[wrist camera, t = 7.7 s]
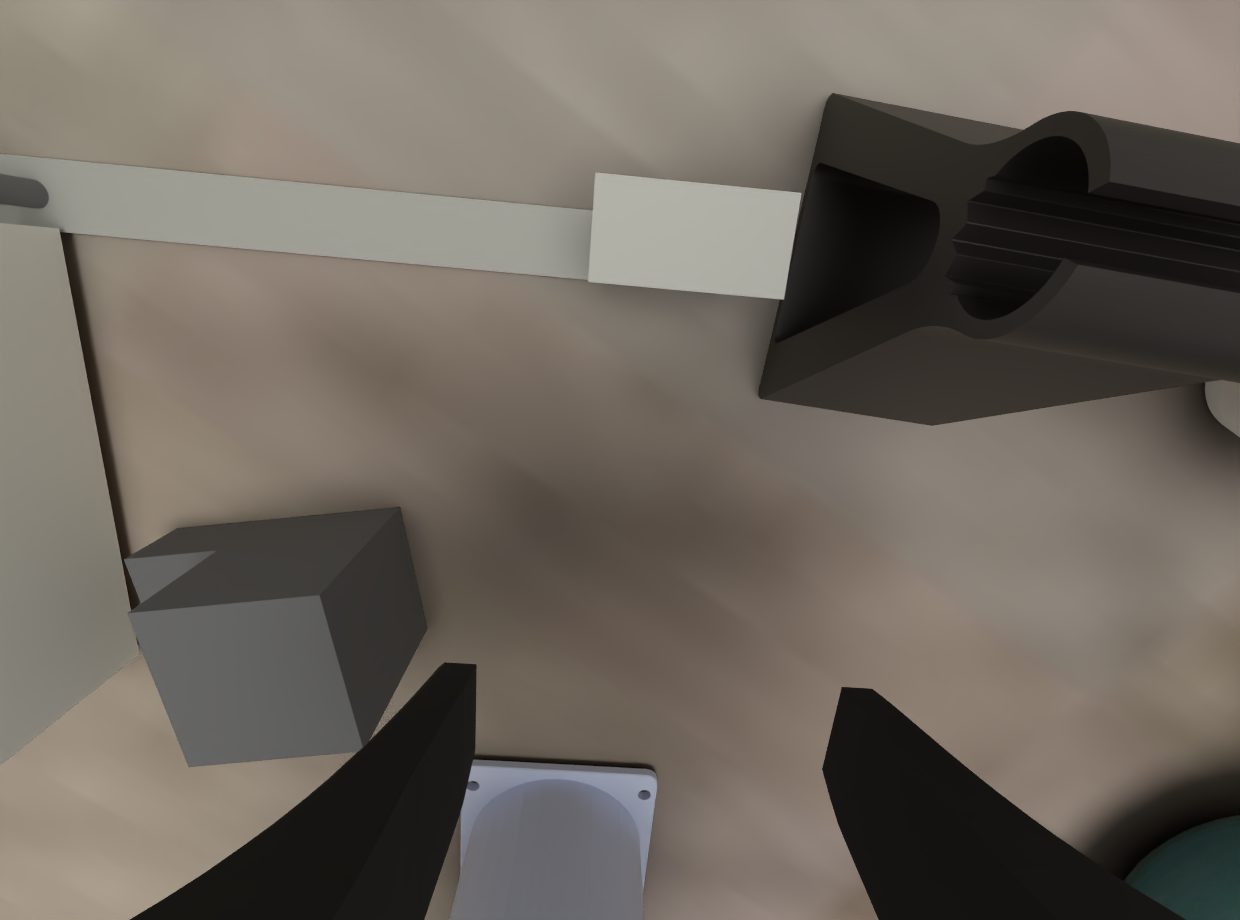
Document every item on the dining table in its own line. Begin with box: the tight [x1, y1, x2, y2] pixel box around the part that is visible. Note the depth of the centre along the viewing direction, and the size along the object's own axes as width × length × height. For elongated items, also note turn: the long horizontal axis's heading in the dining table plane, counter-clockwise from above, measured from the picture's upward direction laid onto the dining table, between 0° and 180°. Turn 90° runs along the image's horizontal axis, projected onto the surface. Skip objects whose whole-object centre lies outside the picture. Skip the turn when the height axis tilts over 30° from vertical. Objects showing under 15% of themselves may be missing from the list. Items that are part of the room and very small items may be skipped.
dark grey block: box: [124, 507, 427, 767], centre depth 18 cm, size 5×8×6 cm, turn 95°
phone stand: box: [759, 93, 1240, 425], centre depth 13 cm, size 9×6×12 cm, turn 170°
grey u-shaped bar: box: [0, 154, 801, 300], centre depth 14 cm, size 2×26×7 cm, turn 85°
